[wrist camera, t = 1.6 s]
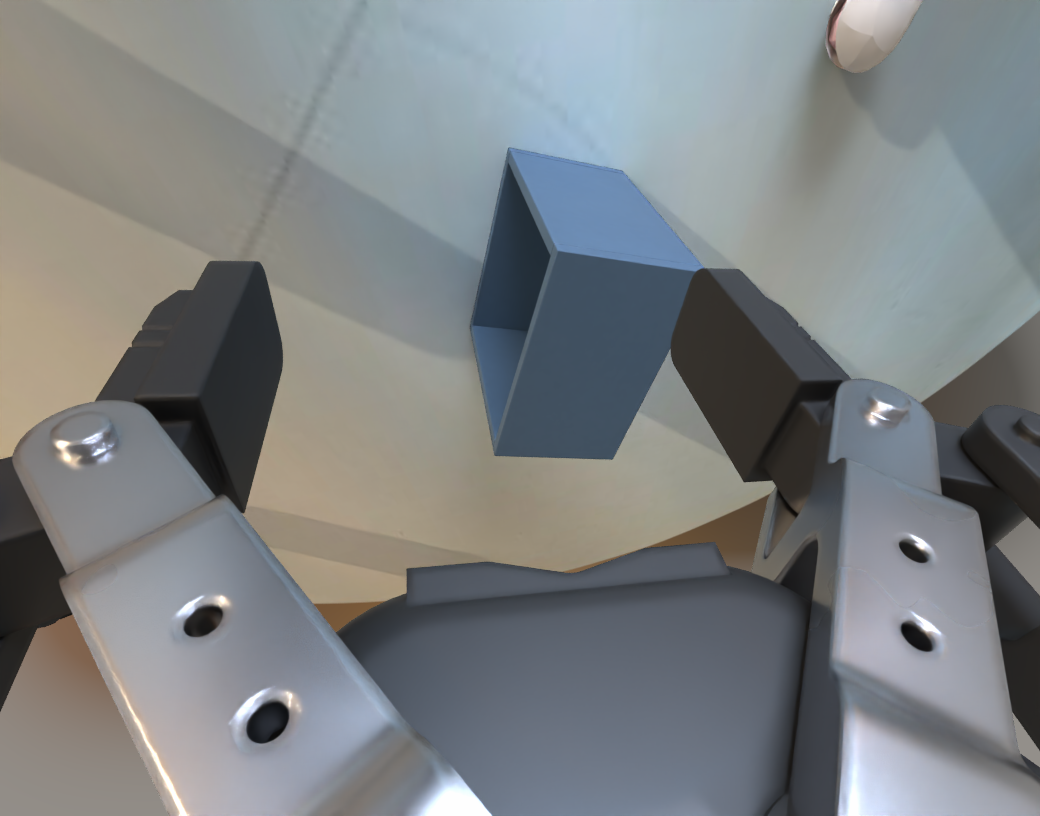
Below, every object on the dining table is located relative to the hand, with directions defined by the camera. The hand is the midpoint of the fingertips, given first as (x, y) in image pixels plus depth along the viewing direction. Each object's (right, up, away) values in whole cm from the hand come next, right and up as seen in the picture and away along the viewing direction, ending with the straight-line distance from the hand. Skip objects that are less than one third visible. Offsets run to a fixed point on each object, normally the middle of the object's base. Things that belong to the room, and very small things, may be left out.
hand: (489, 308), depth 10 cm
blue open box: (+3, +4, +20) cm, 20 cm away
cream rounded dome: (+18, +19, +18) cm, 32 cm away
